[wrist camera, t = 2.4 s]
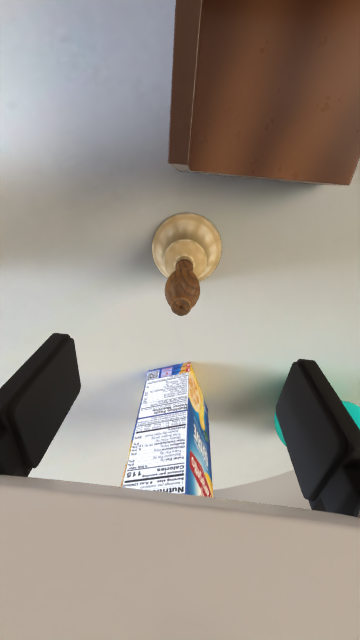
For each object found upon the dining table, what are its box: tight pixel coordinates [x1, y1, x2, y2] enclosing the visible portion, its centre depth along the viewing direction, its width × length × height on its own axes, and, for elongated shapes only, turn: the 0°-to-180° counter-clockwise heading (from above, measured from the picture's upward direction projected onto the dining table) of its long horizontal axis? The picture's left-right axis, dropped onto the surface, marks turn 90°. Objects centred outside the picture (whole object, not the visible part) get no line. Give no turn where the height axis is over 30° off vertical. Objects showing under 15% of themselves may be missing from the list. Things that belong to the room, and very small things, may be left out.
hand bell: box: [152, 213, 222, 316], centre depth 23 cm, size 8×8×16 cm
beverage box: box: [121, 362, 213, 498], centre depth 31 cm, size 7×11×22 cm, turn 18°
